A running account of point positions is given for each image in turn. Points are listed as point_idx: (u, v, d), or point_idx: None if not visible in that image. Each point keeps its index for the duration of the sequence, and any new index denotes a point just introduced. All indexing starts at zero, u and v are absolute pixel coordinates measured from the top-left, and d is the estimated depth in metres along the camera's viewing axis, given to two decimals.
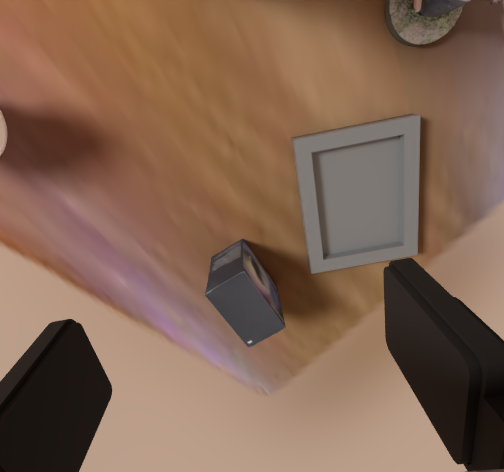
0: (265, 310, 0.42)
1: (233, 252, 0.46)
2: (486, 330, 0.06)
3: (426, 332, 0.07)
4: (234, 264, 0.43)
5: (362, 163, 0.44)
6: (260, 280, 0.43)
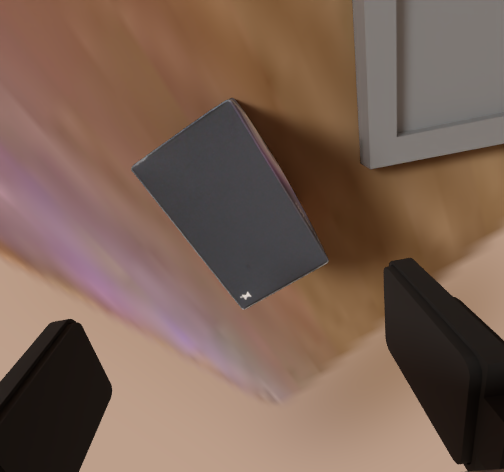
0: (283, 215, 0.17)
1: None
2: (486, 330, 0.06)
3: (426, 332, 0.07)
4: None
5: None
6: (270, 153, 0.19)
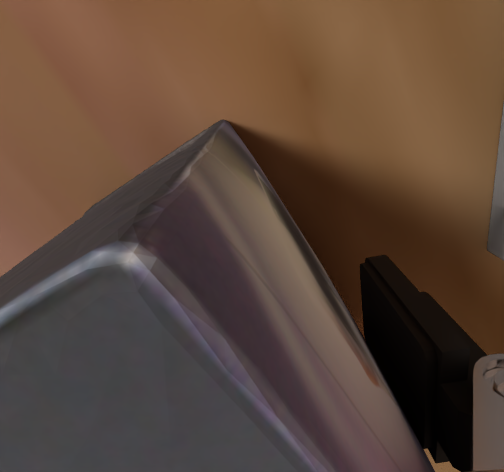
0: None
1: None
2: (445, 321, 0.06)
3: (394, 324, 0.07)
4: (118, 194, 0.05)
5: None
6: (352, 340, 0.05)
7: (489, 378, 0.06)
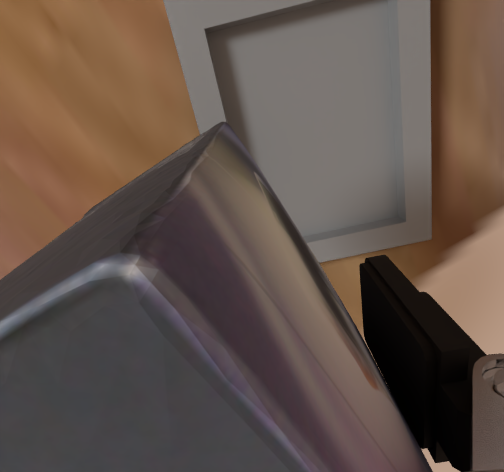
0: None
1: (165, 160, 0.08)
2: (444, 321, 0.06)
3: (393, 324, 0.07)
4: (119, 197, 0.05)
5: (315, 57, 0.22)
6: (351, 343, 0.05)
7: (488, 378, 0.06)
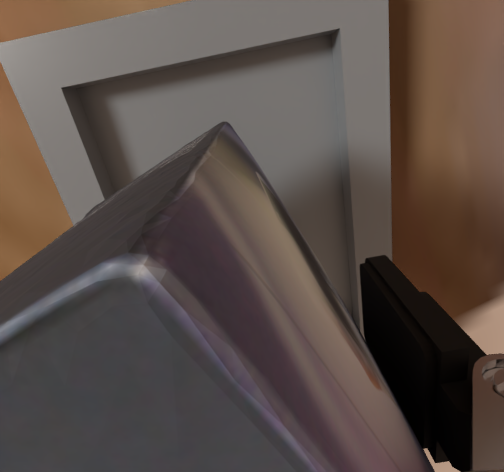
0: None
1: (166, 160, 0.08)
2: (444, 321, 0.06)
3: (393, 324, 0.07)
4: (121, 197, 0.05)
5: (234, 125, 0.16)
6: (354, 344, 0.05)
7: (488, 378, 0.06)
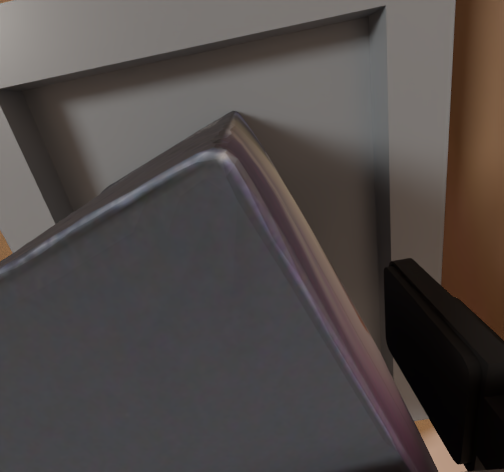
0: None
1: None
2: (486, 330, 0.06)
3: (426, 332, 0.07)
4: (157, 158, 0.05)
5: None
6: (347, 294, 0.06)
7: None
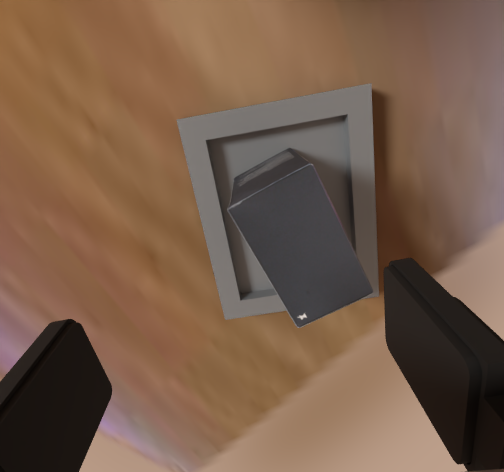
0: (341, 253, 0.21)
1: (277, 159, 0.26)
2: (486, 330, 0.06)
3: (426, 332, 0.07)
4: (284, 165, 0.23)
5: None
6: None
7: None
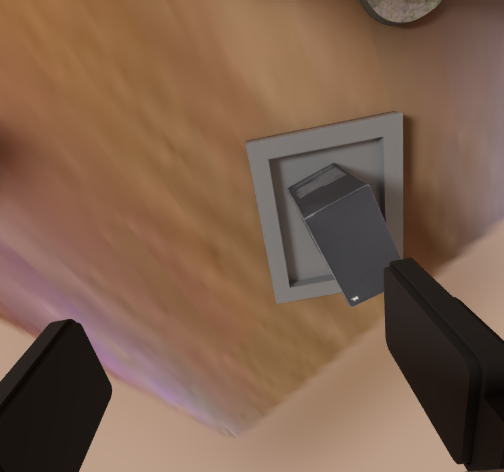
0: (387, 250, 0.28)
1: (327, 175, 0.33)
2: (486, 330, 0.06)
3: (426, 332, 0.07)
4: (340, 182, 0.29)
5: None
6: None
7: None
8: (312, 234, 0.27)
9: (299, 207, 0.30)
